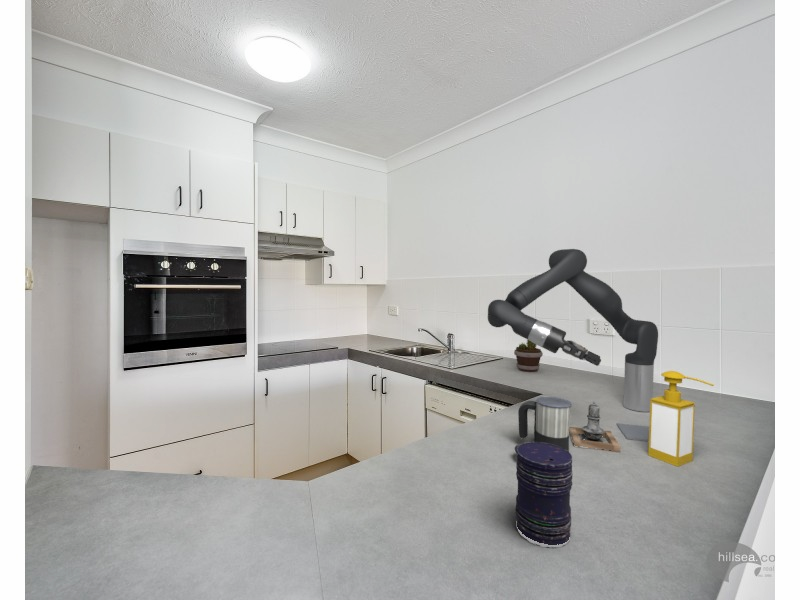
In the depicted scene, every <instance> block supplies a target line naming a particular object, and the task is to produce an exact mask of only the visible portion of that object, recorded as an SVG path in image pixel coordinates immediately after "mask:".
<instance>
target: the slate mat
mask: <svg viewBox="0 0 800 600" xmlns="http://www.w3.org/2000/svg"><path fill="white" fill-rule="evenodd" d="M616 426H617V428H618V429H619V430H621V431H620V432H621V434H622V435H623V434H624V435H623V436H624V438H625V437H626V438H625V439H626V440H630V439H633V441H639V440H642V441H641V442H648V441H649V426H647V425H646V426H645V425H637V424H627V423H618V422H617V423H616Z"/></svg>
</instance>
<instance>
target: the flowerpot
mask: <svg viewBox="0 0 800 600" xmlns="http://www.w3.org/2000/svg"><path fill="white" fill-rule="evenodd" d="M513 353H514V355H515V357H516V358H515V359H516V361H517V362H516V367H517V369H518V370H519V371H520V372H521V371H522V372H528V373H529V372H531V373H532V372H535V373H536V372H538V370H539V369H540V361H541V357H543V351H542V350H541V348H538V347H537V345H536V344H534V343H533V342H531V341H530V340H528V339H526V343H519V344H518V346H516V347H515V349H514V352H513Z"/></svg>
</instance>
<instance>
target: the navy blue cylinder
mask: <svg viewBox="0 0 800 600" xmlns="http://www.w3.org/2000/svg"><path fill="white" fill-rule="evenodd" d="M518 445H519V446H518V448H517V453H516V455H517V456H516V467H515V468H516V473H515V475H516V480H517V494H516V496H515V508H514V509H515V512H514V513H515V522H516V521H517V527H518V529H519V530H520V531H521V532H522V534H524V535H525V536H526V537H528V538H530V539H532V540H534V541H537V542H539V543H544V544H548V545H557V544H558V545H559V544H563V543H565V542H567V541H568V540H569V537H570V538H571V527H572V507H571V505H570V503H571V502H570V501H571V499H570V498H571V490H572V487H573V455H572V453H570V451H569V452H568V451H567V450H565V449H563V448H561V447H559V446H556V445H553V444H548V443H542V442H534V441H531V442H529V441H528V442H523V443H521V444H518Z"/></svg>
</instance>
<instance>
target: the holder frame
mask: <svg viewBox="0 0 800 600" xmlns="http://www.w3.org/2000/svg"><path fill="white" fill-rule="evenodd" d="M582 428H583V427H578V426H577V427H575V426H569V432H570V433H569V436H570V435H571V436H570V438H571V437H572V439H571V441H572V440H573V441H572V443H574V444H573V446H574V445H575V446H583V447H588V448H587V449H589V448H597V449H604V450H603V451H605V450H611V451H610V452H613V451H617V452H616V453H621V448H622V447H621V445H620V443H619V442H618V441H617V439H616V437H615V436H614V434H613V433H612V431H611V430H605V429H603V430H604V431H605V432H604V433H603V437H602V438H605V437H606V438H607V439H606V440H608V441H607V442H603V441H602V442H594V441H586V440H583V439H580V437H579V434H584V431H583V429H582ZM597 449H596V450H597Z"/></svg>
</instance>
